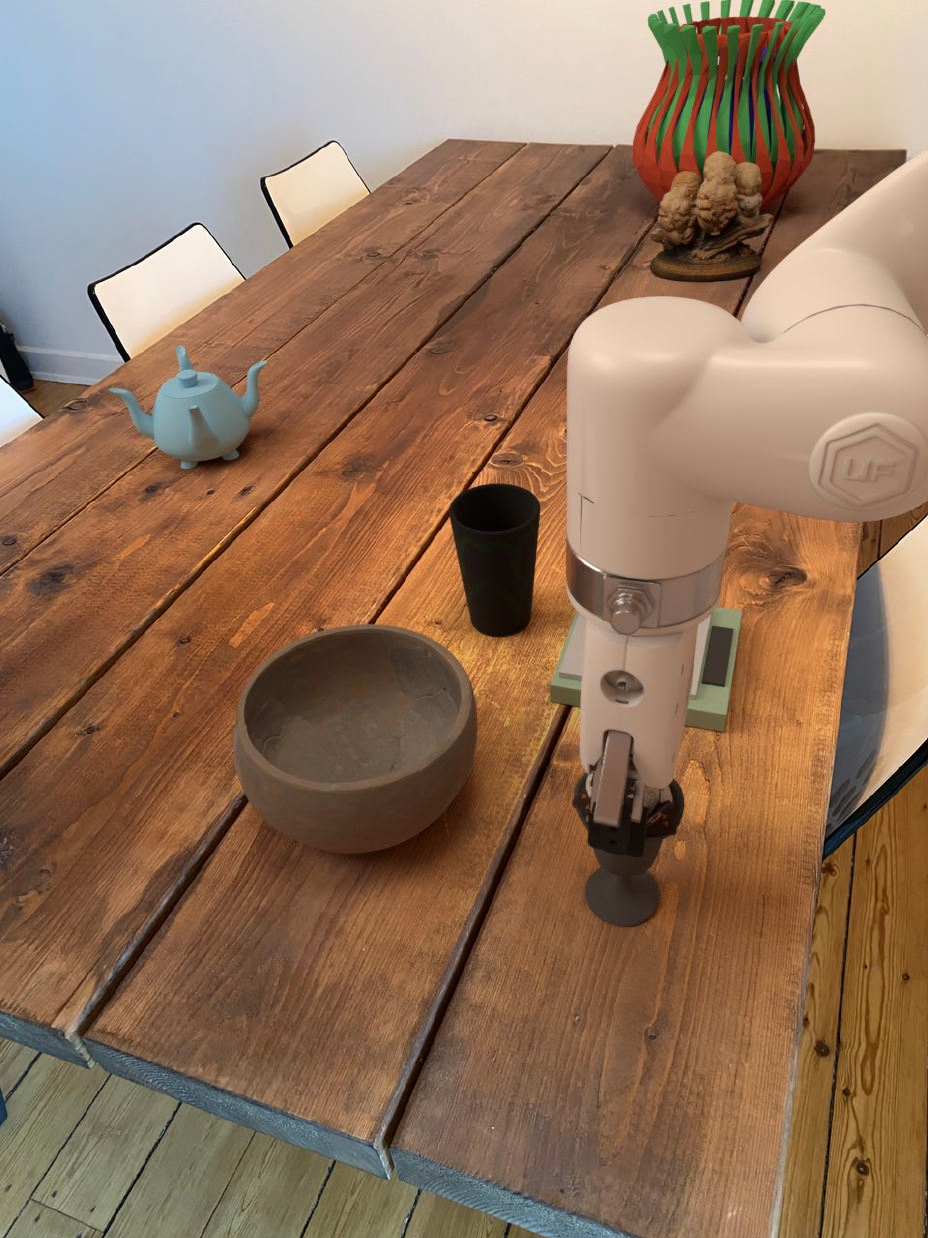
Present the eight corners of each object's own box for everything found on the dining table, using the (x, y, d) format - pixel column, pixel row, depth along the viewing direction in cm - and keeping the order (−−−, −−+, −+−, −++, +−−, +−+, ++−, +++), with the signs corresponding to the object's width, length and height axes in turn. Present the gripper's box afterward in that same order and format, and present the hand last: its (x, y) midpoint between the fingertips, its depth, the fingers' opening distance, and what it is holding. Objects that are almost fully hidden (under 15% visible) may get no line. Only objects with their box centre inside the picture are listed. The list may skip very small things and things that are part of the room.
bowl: (476, 699, 79) (468, 606, 72) (490, 881, 65) (482, 786, 59) (270, 715, 79) (244, 624, 73) (241, 900, 65) (206, 808, 59)
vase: (789, 180, 179) (816, -9, 160) (819, 233, 156) (855, 20, 137) (627, 186, 183) (635, 2, 163) (633, 240, 160) (643, 33, 140)
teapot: (131, 465, 113) (104, 387, 106) (203, 415, 121) (182, 340, 115) (215, 487, 108) (192, 407, 101) (284, 433, 116) (267, 355, 110)
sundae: (568, 853, 67) (569, 703, 57) (665, 852, 66) (683, 701, 56) (573, 938, 62) (575, 789, 52) (678, 938, 61) (699, 787, 51)
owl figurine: (758, 251, 152) (773, 135, 141) (774, 278, 143) (791, 157, 132) (645, 257, 153) (651, 143, 142) (653, 285, 144) (661, 165, 133)
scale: (740, 627, 83) (743, 604, 82) (724, 732, 74) (727, 709, 73) (583, 604, 87) (584, 582, 86) (550, 701, 78) (549, 679, 76)
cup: (550, 596, 89) (549, 487, 81) (531, 650, 83) (528, 538, 75) (471, 586, 91) (463, 478, 83) (448, 638, 85) (436, 527, 77)
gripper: (699, 700, 39) (668, 939, 50) (740, 478, 51) (708, 710, 63) (522, 670, 41) (531, 906, 52) (603, 464, 53) (595, 691, 65)
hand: (627, 798), depth 57 cm, fingers closed on sundae, 6 cm apart
